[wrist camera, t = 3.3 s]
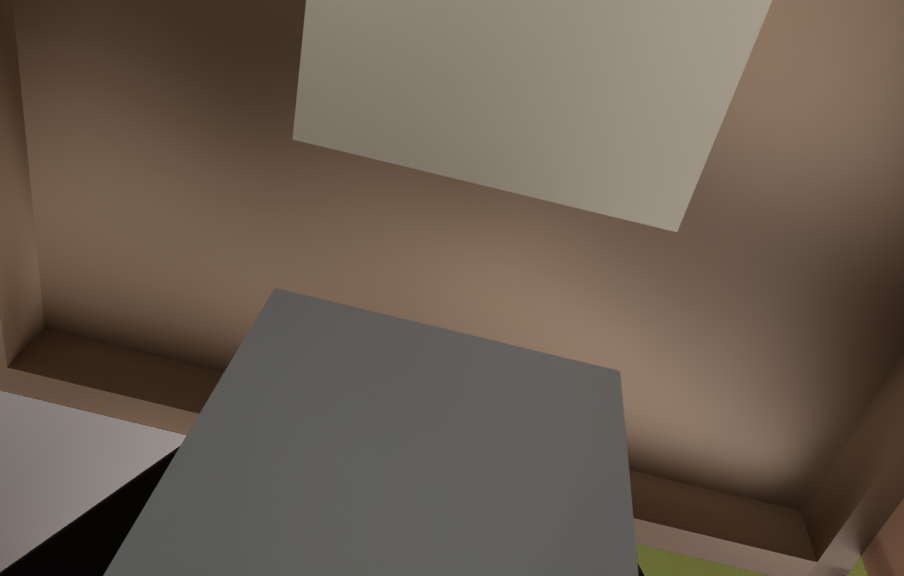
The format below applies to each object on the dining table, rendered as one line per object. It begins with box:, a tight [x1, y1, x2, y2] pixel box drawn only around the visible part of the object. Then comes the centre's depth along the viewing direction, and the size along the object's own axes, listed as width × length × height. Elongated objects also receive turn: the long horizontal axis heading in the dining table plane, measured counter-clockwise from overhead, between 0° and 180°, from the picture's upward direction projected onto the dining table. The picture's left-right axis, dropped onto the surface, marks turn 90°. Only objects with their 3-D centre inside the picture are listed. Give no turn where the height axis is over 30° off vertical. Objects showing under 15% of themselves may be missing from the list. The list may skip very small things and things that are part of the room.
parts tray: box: [0, 0, 904, 576], centre depth 12 cm, size 13×16×2 cm
